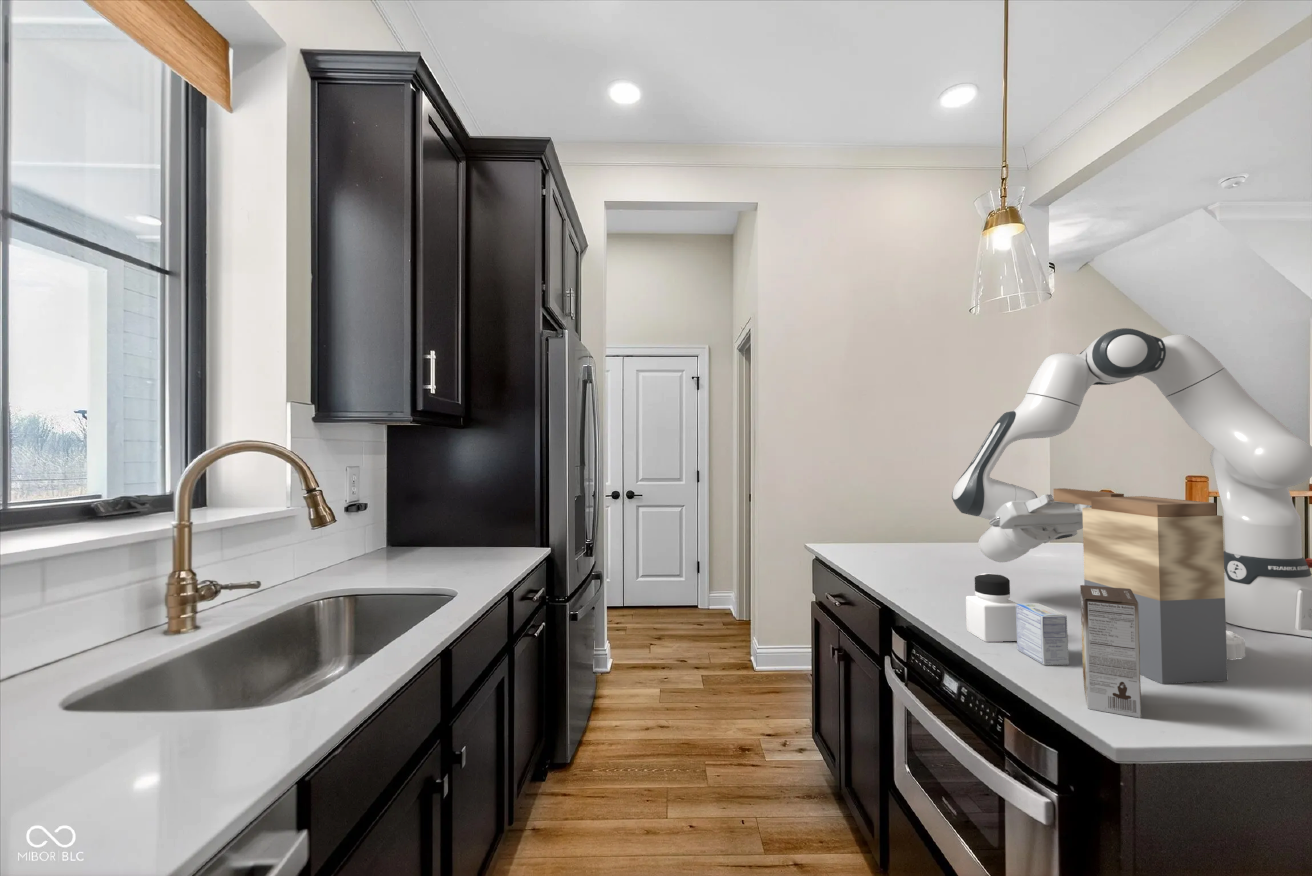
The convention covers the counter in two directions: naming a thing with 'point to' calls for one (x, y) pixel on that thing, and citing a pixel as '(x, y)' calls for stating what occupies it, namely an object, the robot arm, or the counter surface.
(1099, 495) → the walnut board
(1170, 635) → the tower base block
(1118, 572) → the tower top block
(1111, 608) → the coffee box
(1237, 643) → the mooncake
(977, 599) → the medicine bottle
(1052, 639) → the medicine box
